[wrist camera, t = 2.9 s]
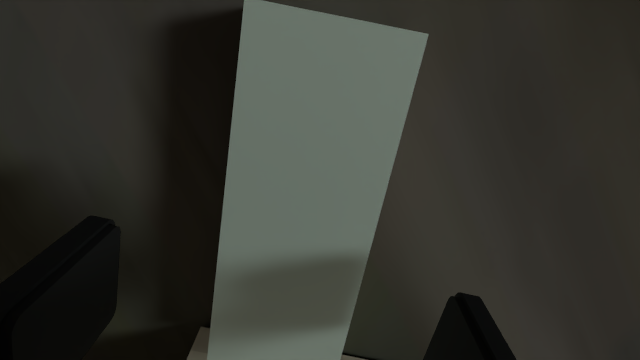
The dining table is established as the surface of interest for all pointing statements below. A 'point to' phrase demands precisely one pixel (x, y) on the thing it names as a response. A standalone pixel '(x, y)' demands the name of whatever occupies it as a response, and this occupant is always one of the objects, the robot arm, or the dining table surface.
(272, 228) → the grey-green rectangular block
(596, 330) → the dining table surface
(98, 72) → the dining table surface
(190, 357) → the shelf frame
